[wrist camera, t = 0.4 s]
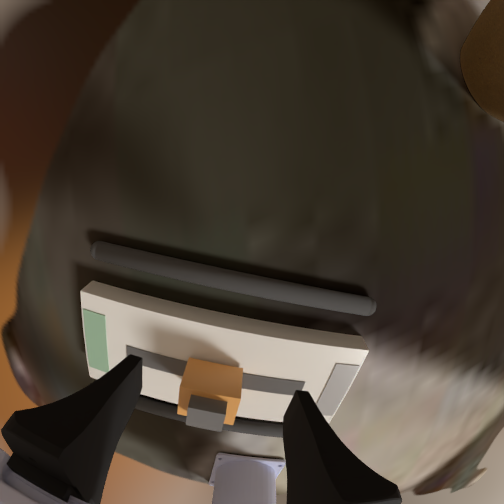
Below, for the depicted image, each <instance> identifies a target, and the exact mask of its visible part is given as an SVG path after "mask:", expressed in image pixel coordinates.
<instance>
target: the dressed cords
mask: <svg viewBox="0 0 504 504" xmlns="http://www.w3.org/2000/svg"><path fill="white" fill-rule="evenodd" d="M90 252H91V255H92V257H93V258H94V259H96V260H100V261H104V262H107V263H111V264H115V265H119V266H123V267H127V268H131V269H135V270H139V271H143V272H148V273H152V274H156V275H160V276H164V277H169V278H173V279H177V280H182V281H186V282H191V283H195V284H200V285H204V286H209V287H213V288H218V289H223V290H228V291H232V292H237V293H242V294H247V295H252V296H257V297H262V298H267V299H272V300H278V301H283V302H288V303H294V304H299V305H305V306H310V307H316V308H322V309H328V310H333V311H339V312H346V313H352V314H358V315H364V316H369V315H371V314H373V313H374V312H375V310H376V302H375V300H374V299H372V298H371V297H366V296H361V295H355V294H350V293H344V292H339V291H334V290H328V289H323V288H318V287H313V286H308V285H303V284H297V283H292V282H287V281H282V280H277V279H272V278H267V277H262V276H258V275H253V274H248V273H243V272H238V271H233V270H229V269H224V268H219V267H214V266H210V265H205V264H200V263H196V262H191V261H187V260H182V259H178V258H173V257H169V256H164V255H160V254H155V253H151V252H146V251H142V250H137V249H133V248H129V247H124V246H120V245H116V244H112V243H107V242H103V241H96V242H95V243H93V244H92V246H91V250H90ZM135 409H138V410H141V411H144V412H148V413H151V414H155V415H158V416H162V417H166V418H170V419H174V420H178V421H182V422H186V418H187V416H184V415H180V414H177V411H178V407H177V406H173V405H169V404H165V403H162V402H158V401H154V400H151V399H147V398H144V397H141V396H139V399H138V402H137V404H136V406H135ZM222 430H227V431H233V432H240V433H246V434H254V435H262V436H272V437H282V438H283V424H274V423H265V422H257V421H250V420H243V419H237V418H235V420H234V424H233V425H229V424H223V427H222Z"/></svg>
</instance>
